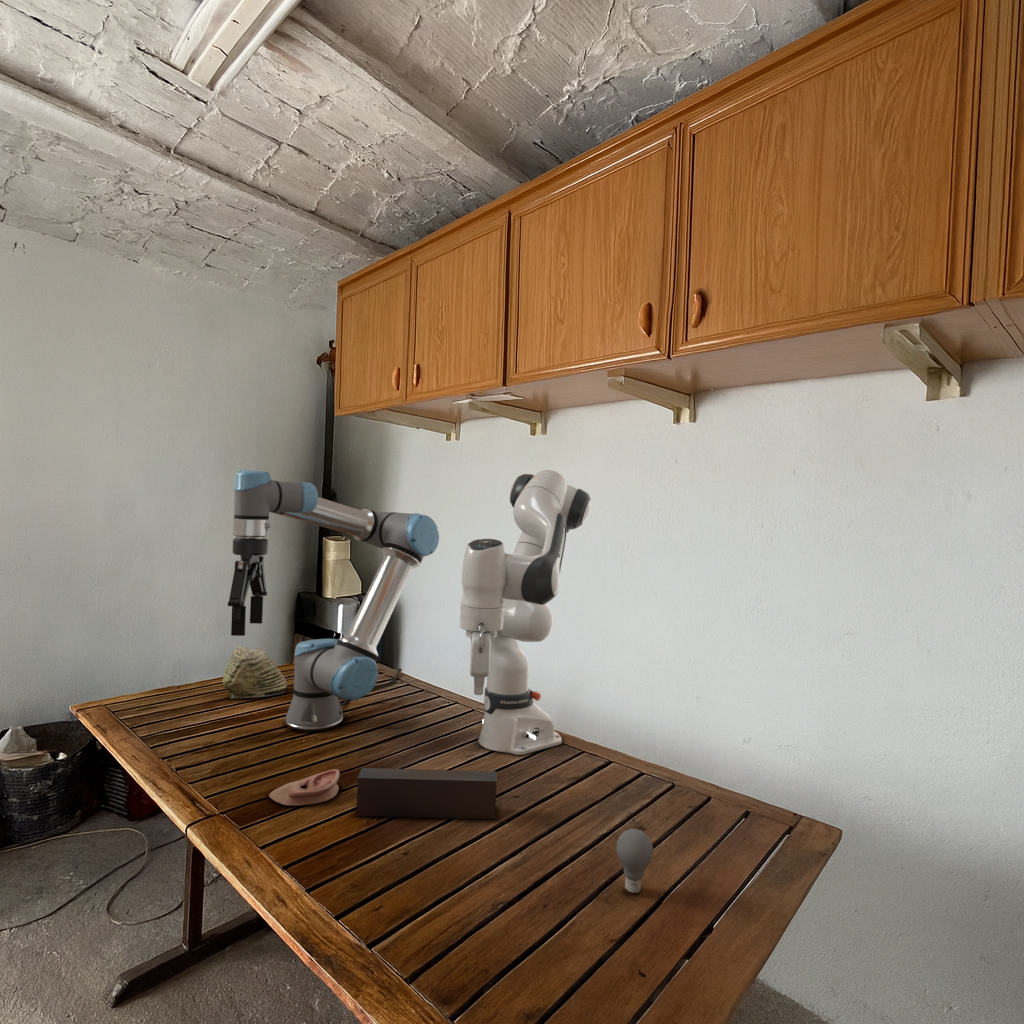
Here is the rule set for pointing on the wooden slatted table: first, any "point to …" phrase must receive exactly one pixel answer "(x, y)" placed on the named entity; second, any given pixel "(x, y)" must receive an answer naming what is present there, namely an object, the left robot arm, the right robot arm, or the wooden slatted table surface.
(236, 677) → the fossil
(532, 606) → the right robot arm
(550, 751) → the wooden slatted table surface
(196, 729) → the wooden slatted table surface
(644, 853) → the light bulb
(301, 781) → the anatomical model
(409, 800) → the bar
